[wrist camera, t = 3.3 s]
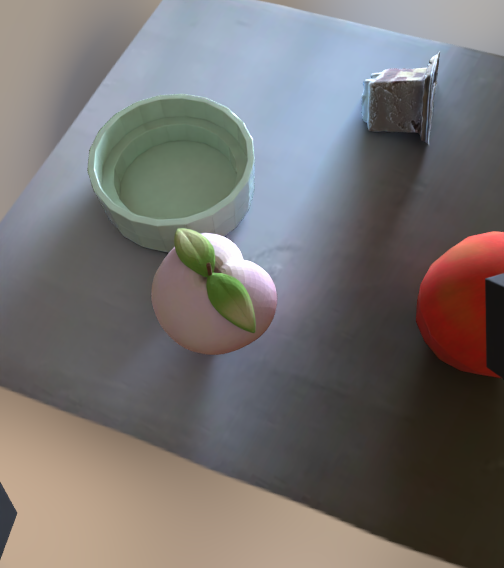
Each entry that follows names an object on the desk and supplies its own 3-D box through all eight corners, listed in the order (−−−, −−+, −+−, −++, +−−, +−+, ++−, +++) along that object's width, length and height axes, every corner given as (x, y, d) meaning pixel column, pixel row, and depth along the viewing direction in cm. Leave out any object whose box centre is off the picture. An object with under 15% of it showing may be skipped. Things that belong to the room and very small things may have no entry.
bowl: (82, 237, 40) (60, 205, 36) (135, 122, 46) (122, 82, 41) (232, 269, 39) (229, 241, 34) (268, 147, 45) (269, 109, 40)
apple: (493, 265, 39) (581, 185, 29) (546, 376, 35) (672, 330, 25) (384, 286, 38) (433, 212, 28) (426, 403, 34) (503, 367, 24)
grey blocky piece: (374, 58, 50) (355, 35, 40) (441, 53, 48) (440, 27, 37) (368, 146, 53) (349, 146, 43) (431, 146, 51) (427, 146, 40)
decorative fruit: (143, 316, 37) (107, 262, 28) (214, 255, 40) (202, 186, 30) (219, 395, 34) (207, 364, 25) (291, 325, 37) (303, 273, 28)
